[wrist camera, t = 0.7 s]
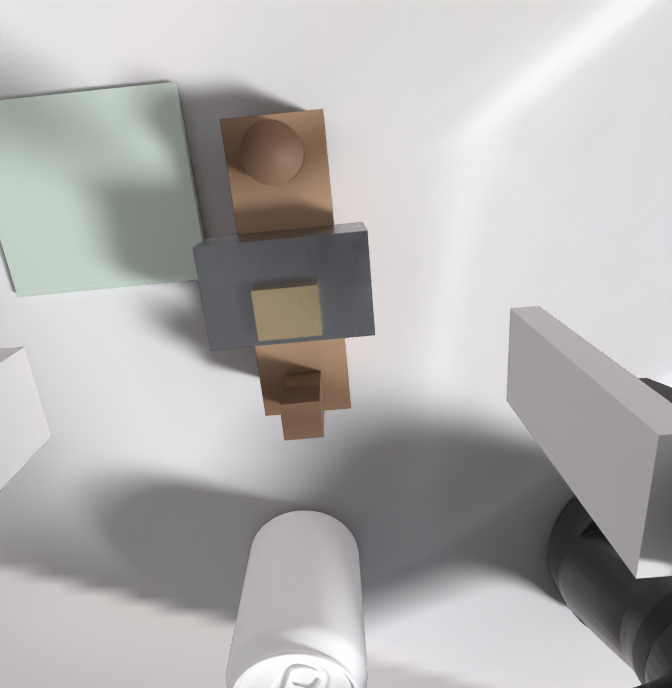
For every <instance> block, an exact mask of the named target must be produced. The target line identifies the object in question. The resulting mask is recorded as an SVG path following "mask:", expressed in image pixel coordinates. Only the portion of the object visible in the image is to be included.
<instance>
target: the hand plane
mask: <svg viewBox="0 0 672 688" xmlns="http://www.w3.org/2000/svg"><path fill="white" fill-rule="evenodd" d="M220 123H221V130H222V136H223V143H224V149H225V156H226V162H227V169H228V175H229V182H230V188H231V195H232V201H233V208H234V214H235V221H236V227H237V233H238V234H246V233H256V232H267V231H277V230H287V229H297V228H307V227H318V226H328V225H334V219H333V209H332V198H331V187H330V177H329V166H328V155H327V145H326V134H325V123H324V114H323V109H318V110H308V111H298V112H288V113H279V114H269V115H259V116H249V117H240V118H230V119H220ZM255 350H256V357H257V363H258V369H259V376H260V382H261V389H262V395H263V402H264V408H265V415H266V416H269V415H280V414H281V419H282V426H283V433H284V440H295V439H306V438H318V437H324V411H325V410H336V409H347V408H351V402H350V391H349V379H348V368H347V358H346V347H345V338H338V339H328V340H317V341H306V342H296V343H285V344H274V345H263V346H255Z"/></svg>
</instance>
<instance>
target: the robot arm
mask: <svg viewBox="0 0 672 688" xmlns="http://www.w3.org/2000/svg"><path fill="white" fill-rule="evenodd" d="M507 402H508V403H509V405H510V406H511V408H512V409H513V410H514V412H515V413H516V414H517V416H518V417H519V418H520V420H521V421H522V423H523V424H524V425H525V427H526V428H527V429H528V431H529V432H530V434H531V435H532V436H533V438H534V439H535V440H536V442H537V443H538V445H539V446H540V447H541V449H542V450H543V451H544V453H545V454H546V456H547V457H548V458H549V460H550V461H551V462H552V464H553V465H554V467H555V468H556V469H557V471H558V472H559V473H560V475H561V476H562V478H563V479H564V480H565V482H566V483H567V484H568V486H569V487H570V489H571V490H572V491H573V493H574V494H575V495H576V496H575V497H574V498H573V500H572V501H571V502H570V503H569V504H568V505H567V507H566V508H565V509H564V511H563V512H562V514H561V515H560V517H559V519H558V521H557V523H556V525H555V527H554V530H553V532H552V535H551V539H550V544H549V552H548V559H549V567H550V571H551V575H552V577H553V580H554V582H555V584H556V586H557V587H558V589H559V591H560V593H561V595H562V597H563V599H564V600H565V602H566V604H567V606H568V607H569V609H570V610H571V611H572V612H573V614H574V615H575V616H576V617H577V618H578V619H579V620H580V621H581V622H582V623H583V624H584V625H586V626H587V627H588V628H589V629H590V630H591V631H592V632H593V633H594V634H595V635H596V636H598V637H599V638H600V639H601V640H602V641H603V642H604V643H605V644H606V645H607V646H608V647H609V648H610V649H611V650H612V651H613V652H614V653H615V654H616V655H618V656H619V657H620V658H621V659H622V660H623V661H624V662H625V663H626V664H627V665H628V666H629V667H631V668H632V669H633V670H634V672H635V674H636V675H637V677H638V679H639V680H640V682H641V684H642V685H640V686H637V687H634V688H672V388H671V387H669V386H666V385H664V384H661V383H658V382H656V381H653V380H651V379H648V378H639V379H638V378H637V377H635V376H634V375H632V374H631V373H630V372H628V371H627V370H626V369H624V368H623V367H621V366H620V365H619V364H617V363H616V362H615V361H613V360H612V359H611V358H609V357H608V356H606V355H605V354H604V353H602V352H601V351H600V350H598V349H597V348H595V347H594V346H593V345H591V344H590V343H589V342H587V341H586V340H584V339H583V338H582V337H580V336H579V335H578V334H576V333H575V332H573V331H572V330H571V329H569V328H568V327H567V326H565V325H564V324H563V323H561V322H560V321H558V320H557V319H556V318H554V317H553V316H552V315H550V314H549V313H547V312H546V311H545V310H543V309H542V308H541V307H539V306H537V307H524V308H511V309H510V331H509V354H508V377H507ZM50 437H51V432H50V429H49V426H48V423H47V419H46V416H45V413H44V409H43V406H42V403H41V400H40V396H39V393H38V390H37V386H36V383H35V380H34V376H33V373H32V370H31V367H30V363H29V360H28V357H27V353H26V350H25V347H17V348H5V349H0V490H1V489H2V488H3V487H4V486H5V485H6V484H7V483H8V482H9V481H10V479H11V478H12V477H13V476H14V475H15V474H16V473H17V472H18V471H19V470H20V469H21V468H22V467H23V466H24V465H25V464H26V463H27V462H28V460H29V459H30V458H31V457H32V456H33V455H34V454H35V453H36V452H37V451H38V450H39V449H40V448H41V447H42V446H43V445H44V444H45V443H46V442H47V440H48V439H49V438H50Z"/></svg>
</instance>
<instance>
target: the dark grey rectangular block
mask: <svg viewBox="0 0 672 688" xmlns="http://www.w3.org/2000/svg"><path fill="white" fill-rule="evenodd" d="M192 249H193V255H194V260H195V266H196V271H197V277H198V282H199V287H200V293H201V298H202V304H203V309H204V315H205V320H206V325H207V331H208V336H209V342H210V347H211V350H220V349H231V348H242V347H253V346H263V345H274V344H285V343H296V342H306V341H317V340H328V339H338V338H349V337H360V336H371V335H375V327H374V314H373V300H372V287H371V273H370V260H369V246H368V232H367V229H366V227H365V225H364V223H363V222H359V223H348V224H338V225H328V226H318V227H307V228H297V229H287V230H277V231H267V232H256V233H246V234H236V235H226V236H215V237H208V238H207V239H205V240H203V241H202V242H200V243H199V244H197V245H195V246H194V247H192Z"/></svg>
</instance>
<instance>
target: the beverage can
mask: <svg viewBox="0 0 672 688" xmlns="http://www.w3.org/2000/svg"><path fill="white" fill-rule="evenodd" d="M367 680H368V672H367V658H366V644H365V631H364V617H363V604H362V590H361V577H360V563H359V551H358V546H357V543H356V540H355V538H354V536H353V535H352V533H351V532H350V531H349V529H348V528H347V527H346V526H345V525H344V524H342V523H341V522H340V521H338V520H337V519H335V518H333V517H331V516H329V515H327V514H324V513H320V512H316V511H306V510H302V511H293V512H288V513H285V514H282V515H279V516H277V517H275V518H273V519H272V520H270V521H269V522H267V523H266V524H265V525H264V526H263V527H262V528H261V529H260V530H259V532H258V533H257V534H256V536H255V538H254V540H253V543H252V546H251V551H250V556H249V561H248V566H247V571H246V575H245V580H244V585H243V590H242V595H241V600H240V605H239V610H238V615H237V620H236V624H235V629H234V634H233V639H232V644H231V649H230V654H229V659H228V664H227V669H226V684H227V688H366V687H367Z"/></svg>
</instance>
